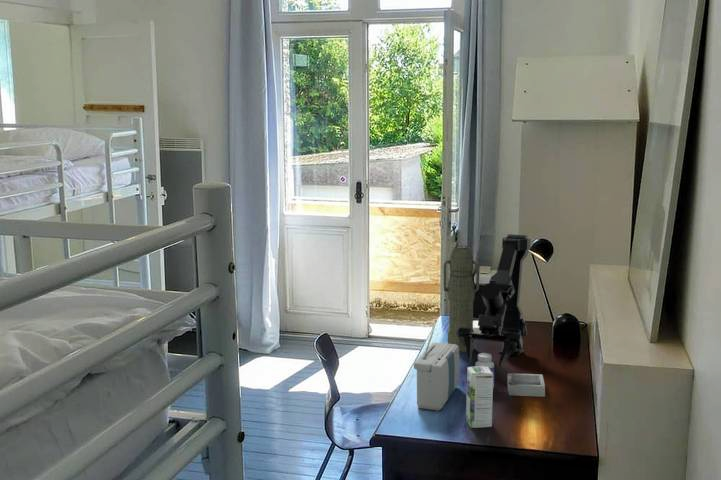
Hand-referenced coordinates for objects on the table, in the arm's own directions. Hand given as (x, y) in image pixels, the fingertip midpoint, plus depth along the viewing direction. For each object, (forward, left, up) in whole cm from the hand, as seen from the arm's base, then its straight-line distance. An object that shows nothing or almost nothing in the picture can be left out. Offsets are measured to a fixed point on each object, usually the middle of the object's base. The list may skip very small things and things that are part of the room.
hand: (484, 363), depth 224 cm
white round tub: (-50, -26, -8) cm, 57 cm away
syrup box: (+24, +10, -7) cm, 27 cm away
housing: (-5, +11, -7) cm, 14 cm away
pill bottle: (-1, 0, -7) cm, 8 cm away
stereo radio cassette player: (+14, -8, -8) cm, 18 cm away
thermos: (-30, -22, -7) cm, 38 cm away
